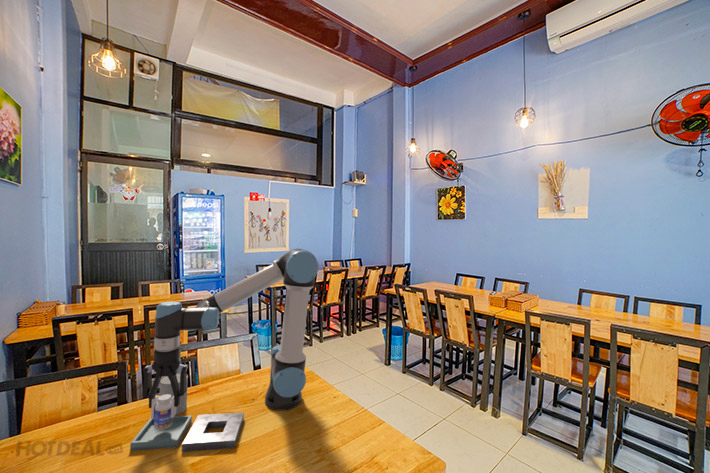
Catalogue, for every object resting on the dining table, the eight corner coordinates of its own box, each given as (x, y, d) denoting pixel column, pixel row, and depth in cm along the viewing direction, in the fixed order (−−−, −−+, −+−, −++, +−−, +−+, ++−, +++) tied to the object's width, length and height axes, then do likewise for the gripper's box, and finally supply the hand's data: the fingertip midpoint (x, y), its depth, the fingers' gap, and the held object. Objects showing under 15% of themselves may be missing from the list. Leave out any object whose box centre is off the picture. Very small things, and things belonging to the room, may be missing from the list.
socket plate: (243, 419, 117) (243, 412, 117) (234, 448, 101) (234, 440, 101) (198, 421, 114) (198, 414, 114) (181, 451, 98) (181, 444, 98)
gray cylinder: (173, 418, 115) (175, 385, 115) (152, 414, 117) (153, 382, 117) (192, 405, 124) (193, 374, 124) (171, 401, 126) (173, 371, 126)
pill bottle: (158, 432, 102) (160, 403, 102) (150, 426, 105) (152, 397, 105) (175, 424, 106) (177, 396, 106) (167, 419, 109) (168, 391, 109)
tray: (191, 422, 113) (191, 415, 113) (176, 447, 100) (177, 439, 100) (150, 424, 111) (151, 417, 111) (130, 450, 98) (130, 442, 98)
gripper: (131, 352, 100) (127, 424, 100) (192, 351, 103) (188, 421, 103) (142, 344, 108) (139, 411, 108) (199, 343, 111) (196, 408, 111)
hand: (163, 415), depth 105 cm, fingers closed on pill bottle, 5 cm apart
